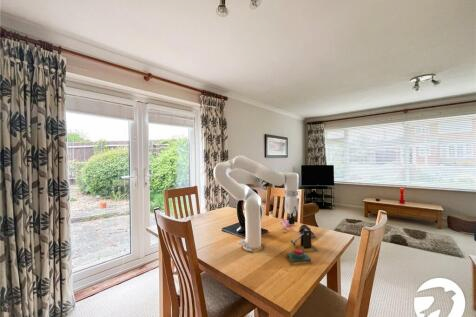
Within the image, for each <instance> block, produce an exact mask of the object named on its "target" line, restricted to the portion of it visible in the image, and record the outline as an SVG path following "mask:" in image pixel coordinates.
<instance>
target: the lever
mask: <svg viewBox="0 0 476 317" xmlns="http://www.w3.org/2000/svg"><path fill="white" fill-rule="evenodd" d="M305 230H307V229H305ZM302 232H303V231H302ZM301 237H303V233H302V234H301V233H300V235H298V236H297V237H296V238H295V239H294V240H290V242H291V244H292V245H293V246H296V245H297V244H296V243H297V242H298V241H299V240H301Z"/></svg>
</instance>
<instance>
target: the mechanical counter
mask: <svg viewBox="0 0 476 317" xmlns="http://www.w3.org/2000/svg"><path fill="white" fill-rule="evenodd" d="M301 228H308V230H311V228H310V227H309V226H308V225H307V224H301V225H300V227H299V228H298V233H301ZM316 238H317V236H316V235H315V233H314V232H313V231H312V230H311V239H316Z"/></svg>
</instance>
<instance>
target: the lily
mask: <svg viewBox="0 0 476 317" xmlns="http://www.w3.org/2000/svg"><path fill="white" fill-rule="evenodd" d="M280 220H281V222H279V224H280V225H282V226H283V228H284V230H286V229H289V230H291V231H293V227H297V225H295V224H289V223H288V220H286V219H284V218H283V217H280Z"/></svg>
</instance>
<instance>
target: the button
mask: <svg viewBox="0 0 476 317" xmlns="http://www.w3.org/2000/svg"><path fill="white" fill-rule="evenodd" d="M294 250H295V254H297V255H301V254H302V251H303V249H300V248H295V249H294Z"/></svg>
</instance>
